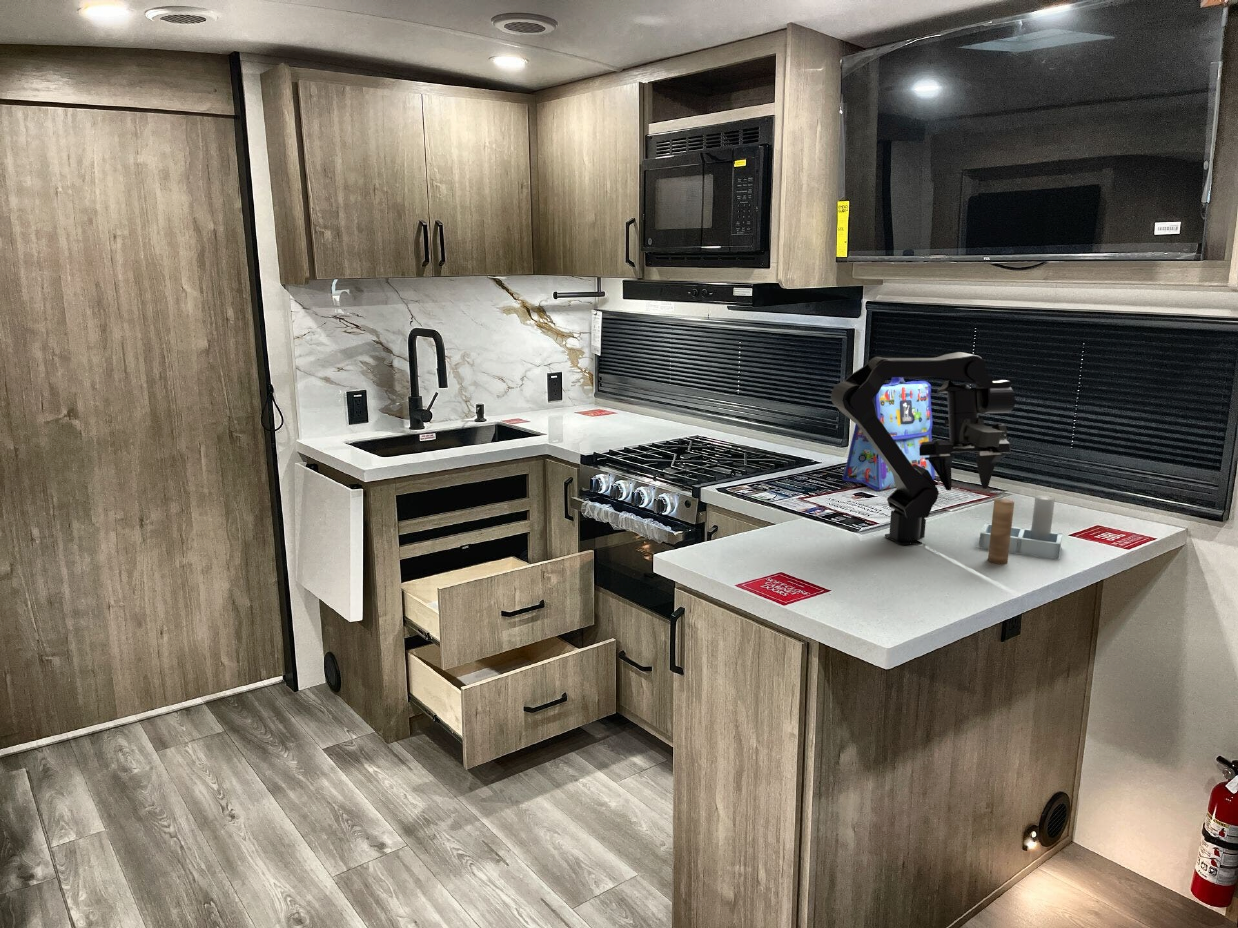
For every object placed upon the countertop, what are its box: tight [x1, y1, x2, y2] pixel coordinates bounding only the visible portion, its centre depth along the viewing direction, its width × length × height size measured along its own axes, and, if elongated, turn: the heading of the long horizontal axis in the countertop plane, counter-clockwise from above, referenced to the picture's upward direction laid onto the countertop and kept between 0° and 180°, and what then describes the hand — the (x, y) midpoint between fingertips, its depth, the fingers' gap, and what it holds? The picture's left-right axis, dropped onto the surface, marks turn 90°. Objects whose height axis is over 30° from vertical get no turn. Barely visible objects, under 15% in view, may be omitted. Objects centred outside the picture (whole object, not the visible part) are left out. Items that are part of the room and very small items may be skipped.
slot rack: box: [977, 522, 1063, 561], centre depth 183 cm, size 15×9×4 cm, turn 62°
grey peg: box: [1030, 495, 1056, 542], centre depth 181 cm, size 4×4×11 cm
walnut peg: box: [987, 498, 1015, 565], centre depth 174 cm, size 4×4×13 cm
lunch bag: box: [842, 377, 936, 491], centre depth 236 cm, size 22×14×29 cm, turn 122°
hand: (967, 489), depth 184 cm, fingers open, 9 cm apart
